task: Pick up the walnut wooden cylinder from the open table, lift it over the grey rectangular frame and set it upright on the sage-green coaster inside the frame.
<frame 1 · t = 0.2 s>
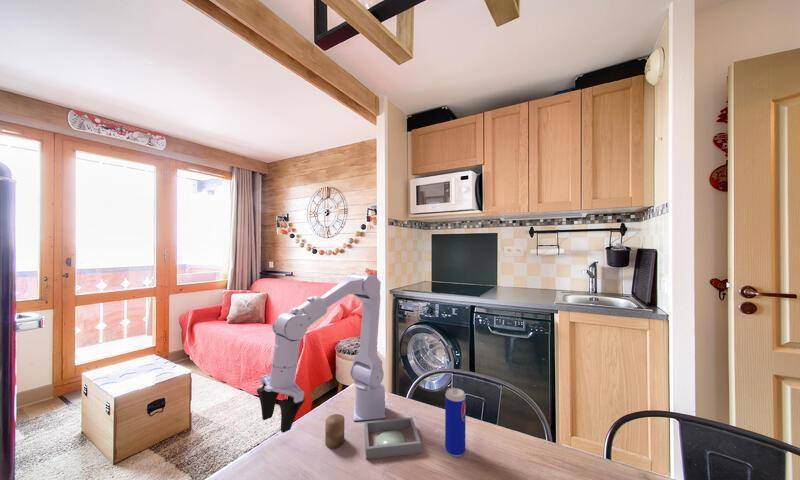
hand: (276, 424, 67), 11 cm above the table, tool pointing down, fingers open, 7 cm apart
coaster: (391, 441, 77), resting in grey rectangular frame
beverage can: (455, 451, 74), on the table
grey rectangular frame: (391, 441, 77), on the table
walnut cylinder: (334, 442, 77), on the table
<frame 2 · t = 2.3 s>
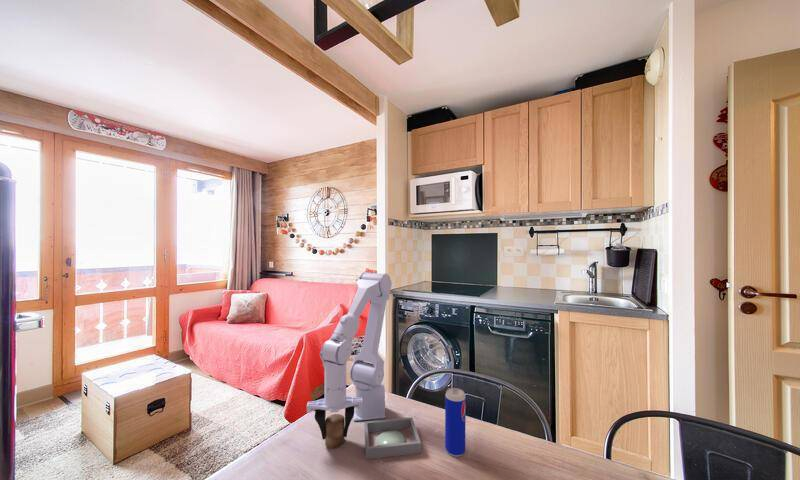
hand: (334, 435, 77), 2 cm above the table, tool pointing down, fingers closed on walnut cylinder, 5 cm apart
walnut cylinder: (334, 441, 77), on the table, touching gripper
everything else where it was.
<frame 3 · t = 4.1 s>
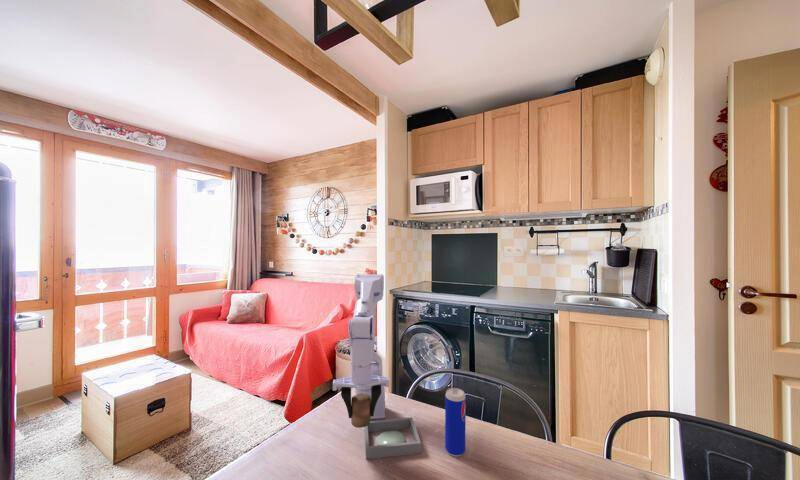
hand: (361, 415, 75), 9 cm above the table, tool pointing down, fingers closed on walnut cylinder, 5 cm apart
walnut cylinder: (360, 421, 75), point 7 cm above the table, touching gripper
everything else where it was.
when the fingers open (4 cm above the table, at t = 6.1 s): walnut cylinder drops 1 cm, resting on coaster.
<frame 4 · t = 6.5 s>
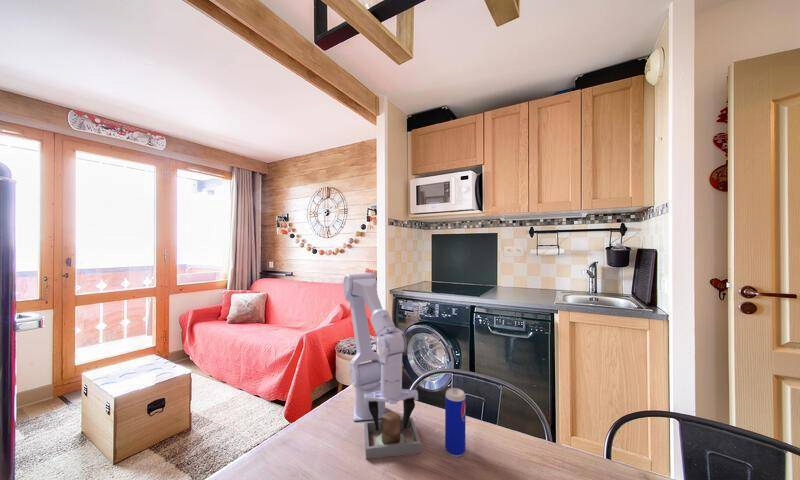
hand: (391, 427, 77), 4 cm above the table, tool pointing down, fingers open, 7 cm apart
walnut cylinder: (391, 439, 77), resting on coaster
everything else where it was.
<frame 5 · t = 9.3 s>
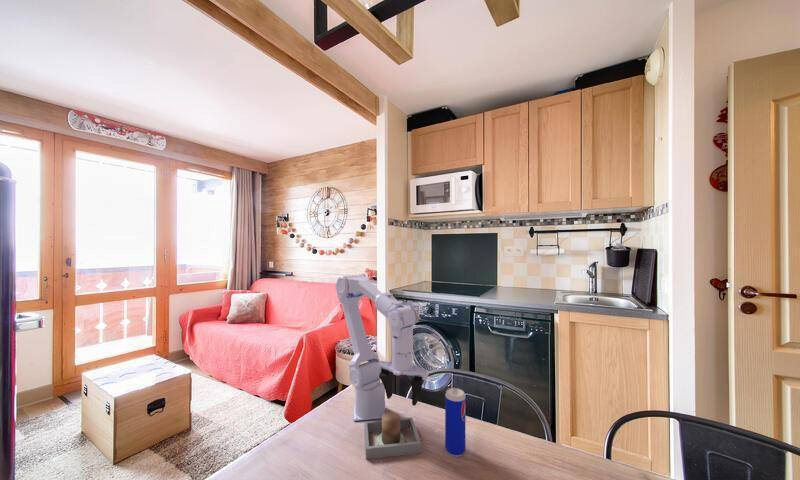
hand: (402, 400, 79), 10 cm above the table, tool pointing down, fingers open, 7 cm apart
nothing on the table moved.
at the end: walnut cylinder 0.0 cm off-centre on the coaster, point 0.4 cm above the coaster's base; walnut cylinder tilted 0°; the gripper is holding nothing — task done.
